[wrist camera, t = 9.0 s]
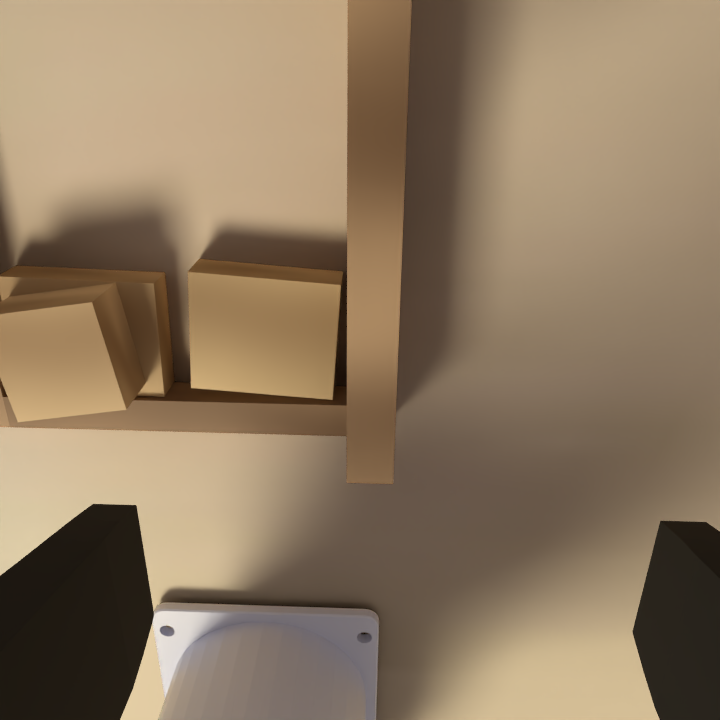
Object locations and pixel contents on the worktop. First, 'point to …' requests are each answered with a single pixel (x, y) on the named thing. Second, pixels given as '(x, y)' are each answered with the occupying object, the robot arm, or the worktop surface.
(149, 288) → the offcut
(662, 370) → the worktop surface
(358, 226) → the wooden tray
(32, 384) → the offcut
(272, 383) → the offcut
